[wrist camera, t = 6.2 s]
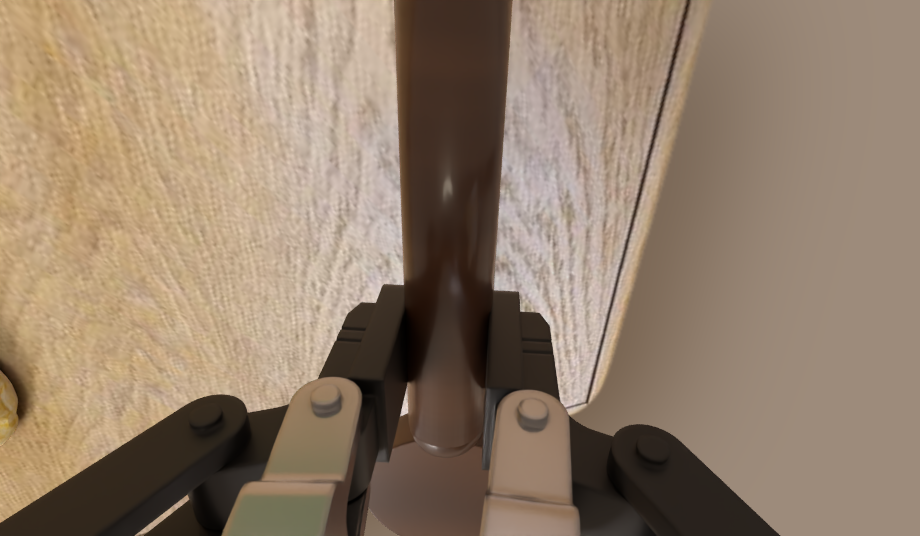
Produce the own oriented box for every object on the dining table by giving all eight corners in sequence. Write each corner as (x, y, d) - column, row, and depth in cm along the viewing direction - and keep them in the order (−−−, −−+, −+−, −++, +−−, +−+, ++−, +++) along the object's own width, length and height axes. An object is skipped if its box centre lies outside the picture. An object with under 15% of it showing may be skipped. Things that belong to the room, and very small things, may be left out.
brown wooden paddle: (317, -161, 9) (269, -198, 7) (608, -157, 8) (636, -194, 7) (376, 508, 17) (361, 568, 15) (520, 519, 17) (522, 582, 15)
